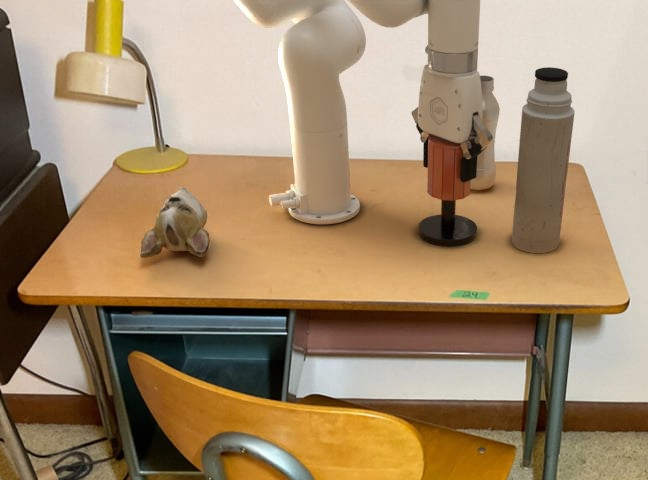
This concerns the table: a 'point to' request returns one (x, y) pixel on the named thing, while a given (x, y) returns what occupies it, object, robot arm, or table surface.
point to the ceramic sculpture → (178, 227)
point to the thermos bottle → (543, 162)
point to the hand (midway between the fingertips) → (449, 171)
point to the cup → (445, 170)
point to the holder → (447, 227)
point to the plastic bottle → (487, 156)
